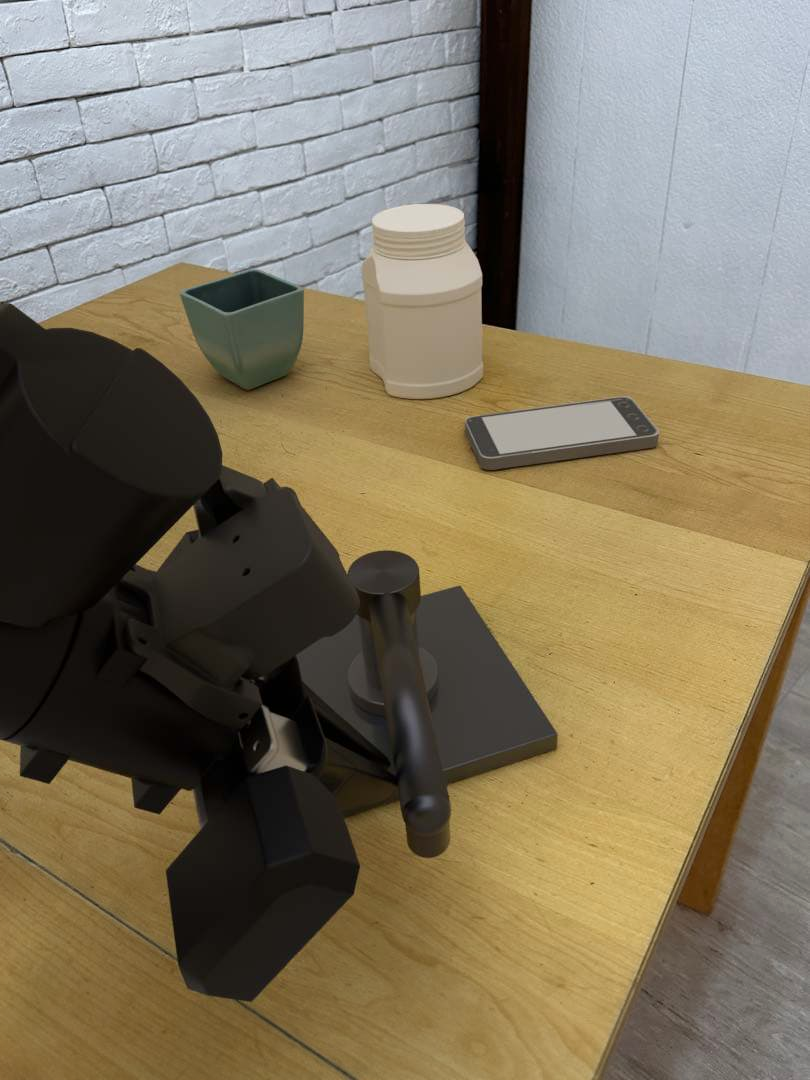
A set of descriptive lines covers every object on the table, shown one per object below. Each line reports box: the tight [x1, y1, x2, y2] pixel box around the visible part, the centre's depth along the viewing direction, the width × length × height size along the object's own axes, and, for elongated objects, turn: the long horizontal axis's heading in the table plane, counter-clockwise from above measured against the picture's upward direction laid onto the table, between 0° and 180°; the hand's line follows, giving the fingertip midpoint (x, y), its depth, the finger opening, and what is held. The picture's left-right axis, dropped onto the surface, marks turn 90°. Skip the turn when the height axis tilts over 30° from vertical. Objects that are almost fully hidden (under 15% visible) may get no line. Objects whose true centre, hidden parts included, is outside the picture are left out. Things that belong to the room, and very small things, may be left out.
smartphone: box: [464, 395, 660, 471], centre depth 76 cm, size 7×1×15 cm
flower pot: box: [178, 268, 305, 391], centre depth 88 cm, size 9×9×9 cm
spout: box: [346, 549, 452, 859], centre depth 43 cm, size 18×4×3 cm, turn 8°
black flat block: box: [296, 585, 559, 819], centre depth 51 cm, size 14×14×7 cm
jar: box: [360, 203, 484, 400], centre depth 84 cm, size 12×10×15 cm
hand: (387, 779), depth 38 cm, fingers closed
